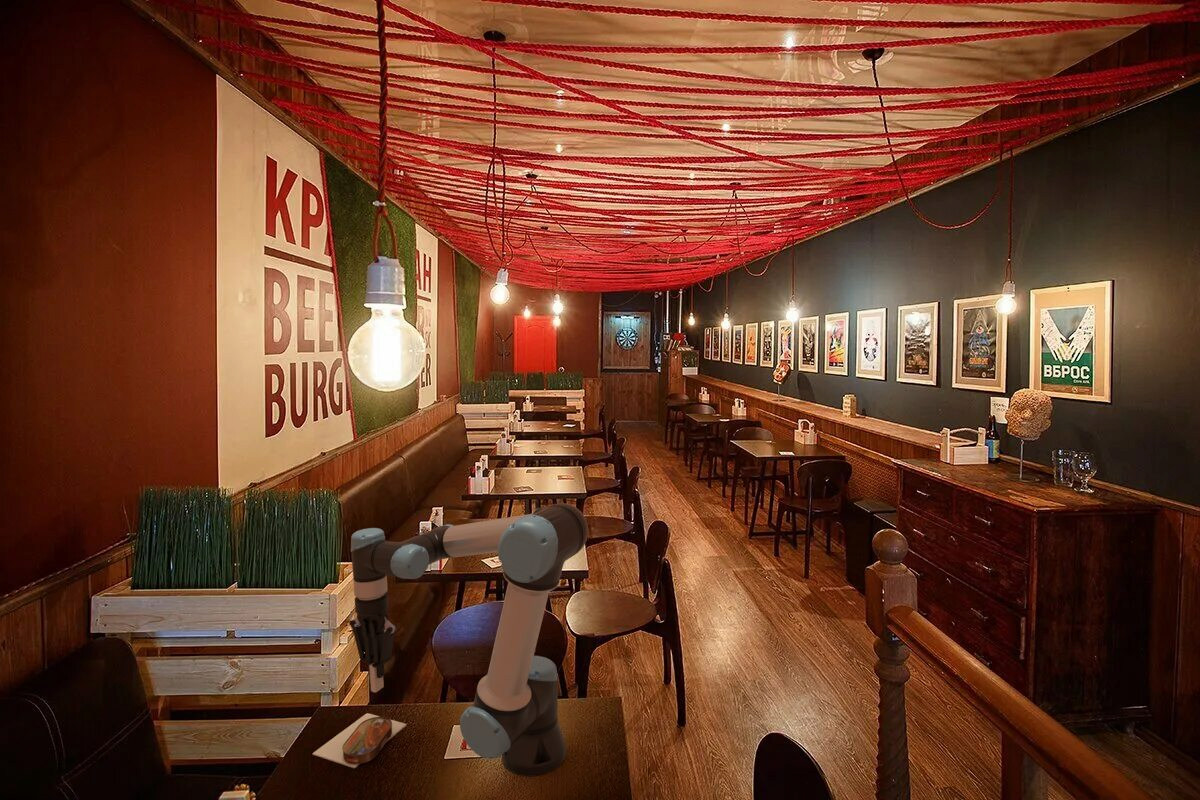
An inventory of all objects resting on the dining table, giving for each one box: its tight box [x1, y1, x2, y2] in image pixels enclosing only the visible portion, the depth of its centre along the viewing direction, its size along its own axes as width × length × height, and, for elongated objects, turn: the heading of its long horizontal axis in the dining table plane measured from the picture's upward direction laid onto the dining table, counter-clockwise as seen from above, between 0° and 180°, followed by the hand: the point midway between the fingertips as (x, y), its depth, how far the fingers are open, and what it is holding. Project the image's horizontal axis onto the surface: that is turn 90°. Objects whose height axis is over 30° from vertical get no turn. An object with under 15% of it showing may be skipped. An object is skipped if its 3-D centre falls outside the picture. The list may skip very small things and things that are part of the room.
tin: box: [342, 716, 392, 765], centre depth 159 cm, size 15×3×8 cm
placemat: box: [312, 713, 407, 769], centre depth 161 cm, size 13×18×1 cm
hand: (377, 688), depth 157 cm, fingers closed
